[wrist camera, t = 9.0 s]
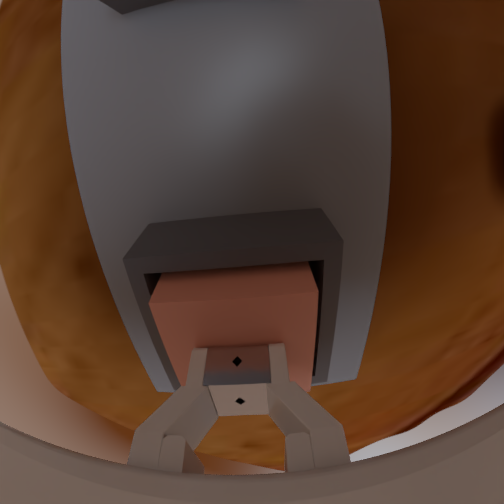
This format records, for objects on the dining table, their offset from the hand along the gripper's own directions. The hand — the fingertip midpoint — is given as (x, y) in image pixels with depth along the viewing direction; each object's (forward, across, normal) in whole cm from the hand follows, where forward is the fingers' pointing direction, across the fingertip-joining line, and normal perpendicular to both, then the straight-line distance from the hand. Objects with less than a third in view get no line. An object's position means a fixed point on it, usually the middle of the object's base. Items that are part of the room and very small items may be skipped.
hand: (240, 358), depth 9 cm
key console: (+7, 0, -8) cm, 11 cm away
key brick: (+3, 0, 0) cm, 3 cm away
